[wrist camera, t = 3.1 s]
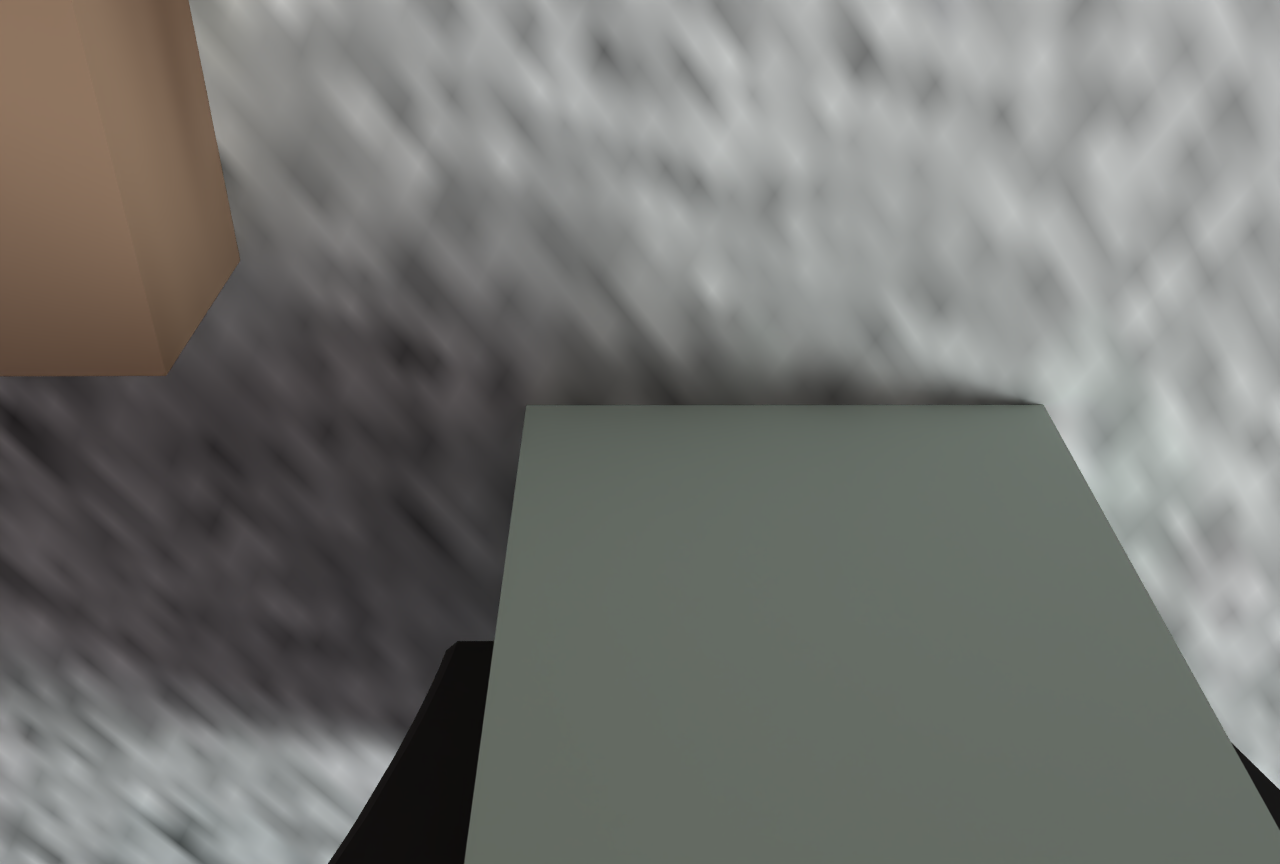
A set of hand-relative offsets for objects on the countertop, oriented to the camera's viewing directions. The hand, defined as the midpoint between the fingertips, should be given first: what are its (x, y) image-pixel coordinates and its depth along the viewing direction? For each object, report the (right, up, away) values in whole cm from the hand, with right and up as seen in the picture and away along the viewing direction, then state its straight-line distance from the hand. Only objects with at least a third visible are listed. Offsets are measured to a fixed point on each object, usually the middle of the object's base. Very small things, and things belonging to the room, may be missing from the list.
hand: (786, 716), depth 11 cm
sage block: (0, +1, +1) cm, 2 cm away
